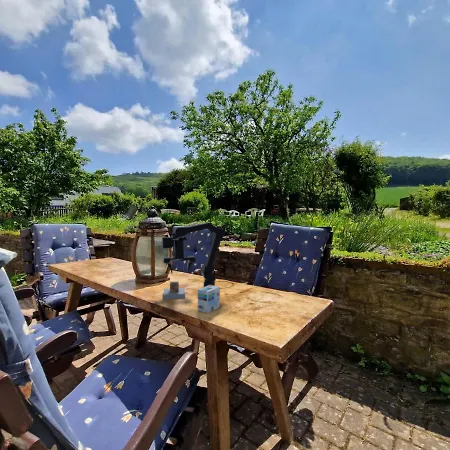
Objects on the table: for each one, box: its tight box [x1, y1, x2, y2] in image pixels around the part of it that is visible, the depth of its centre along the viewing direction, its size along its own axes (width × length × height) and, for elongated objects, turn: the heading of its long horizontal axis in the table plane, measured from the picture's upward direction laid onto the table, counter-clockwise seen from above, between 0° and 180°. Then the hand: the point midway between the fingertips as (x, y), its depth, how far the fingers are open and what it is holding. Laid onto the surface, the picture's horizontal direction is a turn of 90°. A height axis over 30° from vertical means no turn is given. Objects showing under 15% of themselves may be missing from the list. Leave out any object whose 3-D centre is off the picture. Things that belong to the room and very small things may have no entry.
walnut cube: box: [169, 281, 180, 293], centre depth 152 cm, size 5×5×5 cm
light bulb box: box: [197, 285, 221, 314], centre depth 131 cm, size 11×7×11 cm, turn 148°
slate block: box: [162, 287, 186, 300], centre depth 152 cm, size 12×12×3 cm
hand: (179, 273), depth 157 cm, fingers open, 9 cm apart
